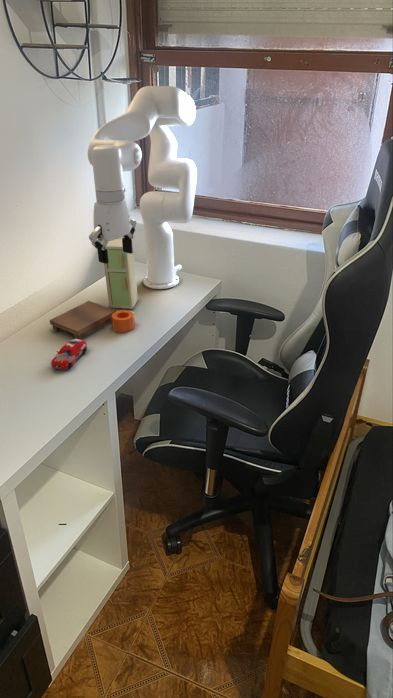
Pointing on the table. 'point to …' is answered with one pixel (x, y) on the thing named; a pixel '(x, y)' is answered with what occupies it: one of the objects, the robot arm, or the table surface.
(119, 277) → the toy refrigerator
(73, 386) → the table surface
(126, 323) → the ring
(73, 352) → the race car
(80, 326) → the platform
